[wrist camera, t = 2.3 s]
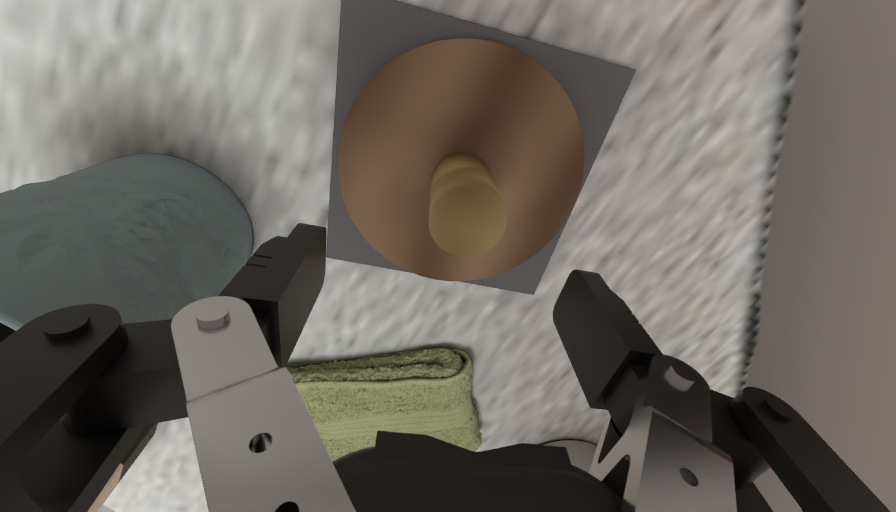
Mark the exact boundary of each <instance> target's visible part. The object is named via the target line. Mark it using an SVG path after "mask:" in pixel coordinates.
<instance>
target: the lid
mask: <svg viewBox="0 0 896 512" xmlns="http://www.w3.org/2000/svg"><path fill="white" fill-rule="evenodd" d="M583 170H584V143H583V136H582V130H581V127H580V123H579V120H578V117H577V114H576V112H575V109H574V107H573V105H572V103H571V101H570V99H569V97H568V96H567V94H566V93H565V91H564V90H563V88H562V87H561V85H560V84H559V83H558V82H557V81H556V79H555V78H554V77H553V76H552V75H551V74H550V73H549V72H548V71H547V70H546V69H545V68H544V67H542V66H541V65H540V64H538V63H537V62H536V61H535V60H533V59H532V58H530V57H528V56H527V55H525V54H523V53H521V52H520V51H518V50H516V49H513V48H511V47H508V46H505V45H503V44H500V43H497V42H492V41H486V40H481V39H467V38H457V39H448V40H440V41H436V42H432V43H429V44H425V45H422V46H419V47H417V48H415V49H412V50H410V51H408V52H406V53H403V54H402V55H400V56H399V57H397V58H396V59H394V60H393V61H391V62H389V63H388V64H387V65H385V66H384V67H383V68H382V69H381V70H380V71H379V72H377V73H376V74H375V75H374V76H373V77H372V78H371V79H370V81H369V82H368V83H367V84H366V85H365V86H364V88H363V89H362V90H361V91H360V93H359V95H358V96H357V98H356V99H355V101H354V103H353V104H352V106H351V108H350V110H349V112H348V115H347V117H346V119H345V122H344V125H343V128H342V132H341V135H340V140H339V147H338V154H337V172H338V179H339V186H340V190H341V194H342V197H343V201H344V204H345V206H346V208H347V211H348V213H349V216H350V217H351V219H352V221H353V222H354V224H355V226H356V228H357V229H358V230H359V232H360V233H361V234H362V236H363V237H364V238H365V240H366V241H367V242H368V243H369V244H370V245H371V246H372V247H373V248H374V249H375V250H376V251H377V252H379V253H380V254H381V255H382V256H384V257H385V258H386V259H388V260H389V261H391V262H392V263H394V264H396V265H397V266H399V267H401V268H403V269H405V270H407V271H409V272H412V273H415V274H418V275H420V276H423V277H428V278H432V279H437V280H445V281H470V280H478V279H483V278H488V277H492V276H495V275H498V274H501V273H504V272H506V271H508V270H511V269H513V268H515V267H517V266H519V265H520V264H522V263H524V262H526V261H527V260H529V259H530V258H531V257H533V256H534V255H535V254H537V253H538V252H539V251H540V250H541V249H543V248H544V247H545V246H546V245H547V244H548V243H549V242H550V241H551V240H552V239H553V237H554V236H555V235H556V234H557V233H558V232H559V230H560V229H561V227H562V226H563V224H564V223H565V222H566V220H567V218H568V216H569V214H570V213H571V211H572V209H573V207H574V204H575V202H576V199H577V196H578V194H579V190H580V186H581V182H582V178H583Z"/></svg>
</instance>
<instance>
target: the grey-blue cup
mask: <svg viewBox="0 0 896 512" xmlns="http://www.w3.org/2000/svg"><path fill="white" fill-rule="evenodd" d="M252 232H253V230H252V224H251V221H250V219H249V216H248V214H247V212H246V210H245V208H244V207H243V205H242V204H241V202H240V201H239V199H238V198H237V197H236V196H235V194H234V193H233V192H232V191H231V190H230V189H229V188H228V187H227V186H226V185H225V184H224V183H223V182H222V181H220V180H219V179H218V178H217V177H215V176H214V175H213V174H211V173H210V172H208V171H206V170H205V169H203V168H201V167H199V166H197V165H195V164H193V163H191V162H188V161H186V160H183V159H180V158H176V157H172V156H167V155H161V154H136V155H130V156H125V157H122V158H118V159H114V160H110V161H106V162H103V163H99V164H97V165H94V166H91V167H88V168H85V169H83V170H80V171H77V172H74V173H71V174H68V175H64V176H61V177H58V178H56V179H54V180H51V181H46V182H39V183H30V184H25V185H22V186H20V187H18V188H16V189H14V190H10V191H6V192H3V193H0V343H1V342H2V341H3V340H5V339H6V338H7V337H9V336H10V335H11V334H13V333H14V332H15V331H17V330H18V329H19V328H21V327H22V326H23V325H25V324H26V323H28V322H29V321H31V320H33V319H35V318H37V317H39V316H41V315H43V314H46V313H48V312H51V311H54V310H57V309H61V308H64V307H69V306H74V305H81V304H101V305H107V306H110V307H113V308H115V309H116V310H117V311H118V312H119V313H120V315H121V318H122V320H123V323H124V324H125V323H136V322H148V321H159V320H168V319H173V318H174V316H175V315H176V314H177V313H178V312H179V311H180V310H181V309H182V308H184V307H186V306H187V305H189V304H191V303H193V302H195V301H198V300H201V299H205V298H209V297H216V296H218V295H219V294H220V293H221V291H222V290H223V289H224V288H225V287H226V286H227V284H228V283H229V282H230V281H231V280H232V279H233V277H234V276H235V275H236V274H237V273H238V272H239V270H240V269H241V268H242V267H243V266H244V265H246V262H247V261H248V259H249V257H250V255H251V250H252V244H253V243H252V239H253V235H252Z"/></svg>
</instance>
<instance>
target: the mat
mask: <svg viewBox="0 0 896 512" xmlns="http://www.w3.org/2000/svg"><path fill="white" fill-rule="evenodd" d="M457 38H467V39H481V40H486V41H492V42H497V43H500V44H503V45H505V46H508V47H511V48H513V49H516V50H518V51H520V52H521V53H523V54H525V55H527V56H528V57H530V58H532V59H533V60H535V61H536V62H537V63H538V64H540V65H541V66H542V67H544V68H545V69H546V70H547V71H548V72H549V73H550V74H551V75H552V76H553V77H554V78H555V79H556V81H557V82H558V83H559V84H560V85H561V87H562V88H563V90H564V91H565V93H566V94H567V96H568V97H569V99H570V101H571V103H572V105H573V107H574V109H575V112H576V114H577V117H578V120H579V123H580V127H581V130H582V136H583V143H584V170H583V178H582V182H581V186H580V190H579V194H580V192H581V190H582V187H583V185H584V183H585V181H586V179H587V176H588V174H589V172H590V170H591V168H592V165H593V163H594V161H595V159H596V157H597V154H598V152H599V150H600V148H601V146H602V143H603V141H604V139H605V137H606V135H607V133H608V130H609V128H610V126H611V124H612V122H613V119H614V117H615V115H616V113H617V111H618V108H619V106H620V104H621V102H622V100H623V97H624V95H625V93H626V91H627V89H628V86H629V84H630V82H631V80H632V78H633V75H634V73H635V71H636V70H634V69H631V68H627V67H624V66H620V65H617V64H613V63H610V62H606V61H603V60H599V59H596V58H593V57H589V56H586V55H582V54H579V53H575V52H572V51H568V50H565V49H561V48H558V47H554V46H551V45H547V44H544V43H540V42H537V41H533V40H530V39H526V38H523V37H519V36H516V35H512V34H509V33H505V32H502V31H498V30H495V29H491V28H488V27H484V26H481V25H477V24H474V23H470V22H467V21H463V20H460V19H456V18H453V17H450V16H446V15H443V14H439V13H436V12H432V11H429V10H425V9H422V8H418V7H415V6H411V5H408V4H404V3H401V2H397V1H394V0H341V14H340V31H339V48H338V65H337V82H336V99H335V116H334V133H333V150H332V167H331V184H330V201H329V218H328V235H327V252H326V257H327V258H333V259H339V260H344V261H350V262H355V263H361V264H366V265H372V266H377V267H383V268H388V269H394V270H399V271H405V272H409V271H407V270H405V269H403V268H401V267H399V266H397V265H396V264H394V263H392V262H391V261H389V260H388V259H386V258H385V257H384V256H382V255H381V254H380V253H379V252H377V251H376V250H375V249H374V248H373V247H372V246H371V245H370V244H369V243H368V242H367V241H366V240H365V238H364V237H363V236H362V234H361V233H360V232H359V230H358V229H357V228H356V226H355V224H354V222H353V221H352V219H351V217H350V216H349V213H348V211H347V208H346V206H345V204H344V201H343V197H342V194H341V190H340V186H339V179H338V172H337V154H338V147H339V140H340V135H341V132H342V128H343V125H344V122H345V119H346V117H347V115H348V112H349V110H350V108H351V106H352V104H353V103H354V101H355V99H356V98H357V96H358V95H359V93H360V91H361V90H362V89H363V88H364V86H365V85H366V84H367V83H368V82H369V81H370V79H371V78H372V77H373V76H374V75H375V74H376V73H377V72H379V71H380V70H381V69H382V68H383V67H384V66H385V65H387V64H388V63H389V62H391V61H393V60H394V59H396V58H397V57H399V56H400V55H402V54H403V53H406V52H408V51H410V50H412V49H415V48H417V47H419V46H422V45H425V44H429V43H432V42H436V41H440V40H448V39H457ZM579 194H578V196H579ZM578 196H577V198H578ZM576 201H577V199H576ZM575 203H576V202H575ZM574 205H575V204H574ZM571 212H572V211H571ZM570 214H571V213H570ZM570 214H569V216H570ZM569 216H568V218H569ZM568 218H567V220H568ZM567 220H566V222H565V223H564V224H563V226H562V227H561V229H560V230H559V232H558V233H557V234H556V235H555V236H554V237H553V239H552V240H551V241H550V242H549V243H548V244H547V245H546V246H545V247H544V248H543V249H541V250H540V251H539V252H538V253H537V254H535V255H534V256H533V257H531V258H530V259H529V260H527V261H526V262H524V263H522V264H520V265H519V266H517V267H515V268H513V269H511V270H508V271H506V272H504V273H501V274H498V275H495V276H492V277H488V278H483V279H478V280H470V281H460V282H466V283H471V284H477V285H482V286H488V287H494V288H499V289H505V290H510V291H516V292H521V293H527V294H532V295H534V293H535V291H536V288H537V286H538V284H539V282H540V280H541V277H542V275H543V273H544V271H545V269H546V266H547V264H548V262H549V260H550V258H551V255H552V253H553V251H554V249H555V247H556V244H557V242H558V240H559V238H560V236H561V234H562V231H563V229H564V227H565V225H566V223H567ZM410 273H412V272H410Z"/></svg>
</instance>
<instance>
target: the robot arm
mask: <svg viewBox="0 0 896 512" xmlns="http://www.w3.org/2000/svg"><path fill="white" fill-rule="evenodd" d="M325 263H326V228H325V227H321V226H315V225H309V224H303V223H299V224H297V226H296V227H295V228H294V230H293V231H292V232H291V234H290V235H289V236H288V237H287V238H286V237H280V236H277V237H275V238H273V239H271V240H269V241H267V242H265V243H263V244H262V245H261V246H260V247H259V248H258V249H257V251H256V252H255V253H254V254H253V256H251V258H250V259H249V260H248V261H247V262H246V265H244V266H243V267H242V268H241V269H240V270H239V272H238V273H237V274H236V275H235V276H234V277H233V279H232V280H231V281H230V282H229V283H228V284H227V286H226V287H225V288H224V289H223V290H222V291H221V293H220V294H219V295H218V296H216V297H209V298H205V299H201V300H198V301H195V302H193V303H191V304H189V305H187V306H186V307H184V308H182V309H181V310H180V311H179V312H178V313H177V314H176V315H175V316H174V318H173V319H168V320H159V321H148V322H136V323H125V324H124V323H123V320H122V318H121V315H120V313H119V312H118V311H117V310H116V309H115V308H113V307H110V306H107V305H101V304H81V305H74V306H69V307H64V308H61V309H57V310H54V311H51V312H48V313H46V314H43V315H41V316H39V317H37V318H35V319H33V320H31V321H29V322H28V323H26V324H25V325H23V326H22V327H21V328H19V329H18V330H17V331H15V332H14V333H13V334H11V335H10V336H9V337H7V338H6V339H5V340H3V341H2V342H1V343H0V512H88V510H89V509H90V507H91V506H92V504H93V503H94V501H95V500H96V498H97V497H98V495H99V494H100V493H101V491H102V490H103V488H104V487H105V485H106V484H107V482H108V481H109V479H110V478H111V476H112V475H113V473H114V472H115V470H116V469H117V467H118V466H119V465H120V463H121V462H122V460H123V459H124V457H125V456H126V454H127V453H128V451H129V450H130V448H131V447H132V445H133V444H134V442H135V441H136V440H137V438H138V437H139V435H140V434H141V432H142V431H143V429H144V428H145V426H146V425H148V424H154V423H159V422H164V421H170V420H175V419H180V418H186V417H189V421H190V426H191V431H192V435H193V440H194V445H195V449H196V454H197V459H198V463H199V468H200V473H201V477H202V482H203V487H204V491H205V496H206V501H207V505H208V510H209V512H773V511H772V509H771V508H770V507H769V505H768V503H767V502H766V500H765V499H764V498H763V496H762V495H761V493H760V492H759V490H758V489H757V487H756V486H755V484H754V483H753V481H754V480H755V479H756V478H758V477H759V476H760V475H762V474H763V473H764V472H766V471H767V470H768V469H770V468H772V469H773V471H774V472H775V473H776V475H777V476H778V477H779V479H780V480H781V482H783V484H784V486H785V487H786V488H787V490H788V491H789V492H790V494H791V495H792V496H793V498H794V499H795V500H796V502H797V503H798V504H799V506H800V507H801V508H802V511H803V512H890V511H889V510H888V509H887V507H886V506H885V505H884V504H883V503H882V502H881V501H880V500H879V499H878V498H877V497H876V496H875V495H874V494H873V492H872V491H871V490H870V489H869V488H868V487H867V486H866V485H865V484H864V483H863V482H862V481H861V480H860V479H859V477H858V476H857V475H856V474H855V473H854V472H853V471H852V470H851V469H850V468H849V467H848V466H847V465H846V464H845V462H844V461H843V460H842V459H841V458H840V457H839V456H838V455H837V454H836V453H835V452H834V451H833V450H832V449H831V448H830V446H828V444H827V443H826V442H825V441H824V440H823V439H822V438H821V437H820V436H819V435H818V434H817V432H816V431H815V430H814V429H813V428H812V427H811V426H810V425H809V424H808V423H807V422H806V421H805V420H804V419H803V418H802V416H801V415H800V414H799V413H797V411H796V410H794V409H793V408H792V407H791V406H790V405H788V404H787V403H785V402H784V401H783V400H781V399H780V398H778V397H776V396H775V395H773V394H771V393H769V392H767V391H765V390H762V389H759V388H755V387H746V388H744V389H743V390H742V391H741V392H740V393H739V394H738V395H737V396H736V397H735V398H732V397H729V396H727V395H724V394H721V393H719V392H716V391H713V390H711V389H710V387H709V385H708V384H707V382H706V381H705V379H704V378H703V377H702V376H701V375H700V374H699V373H698V372H697V371H696V370H695V369H693V368H692V367H691V366H689V365H688V364H686V363H685V362H683V361H681V360H679V359H677V358H674V357H671V356H668V355H663V354H662V353H661V351H660V350H659V349H658V347H657V346H656V344H655V343H654V342H653V340H652V339H651V338H650V336H649V335H648V334H647V332H646V331H645V329H644V328H643V327H642V325H641V324H639V321H638V320H637V319H636V317H635V316H634V314H632V312H631V310H630V309H629V308H628V306H627V305H626V304H625V302H624V301H623V300H622V299H621V298H620V297H618V296H617V295H616V294H615V293H614V292H612V291H611V290H610V289H609V287H608V286H607V284H606V283H605V282H604V280H603V279H602V277H601V276H600V275H599V274H598V273H594V272H588V271H582V270H573V271H572V272H571V273H570V275H569V277H568V279H567V281H566V283H565V285H564V287H563V289H562V291H561V293H560V295H559V297H558V299H557V302H556V304H555V306H554V310H553V321H554V324H555V326H556V329H557V331H558V333H559V336H560V338H561V340H562V343H563V345H564V347H565V350H566V352H567V354H568V357H569V359H570V361H571V364H572V366H573V369H574V371H575V373H576V376H577V378H578V380H579V383H580V385H581V387H582V390H583V392H584V394H585V397H586V399H587V401H588V404H589V406H590V408H596V409H605V410H608V411H609V413H610V415H609V417H608V418H607V419H606V421H605V423H604V426H603V429H602V432H601V436H600V439H599V442H598V445H597V446H595V445H593V444H590V443H587V442H583V441H576V440H564V441H556V442H551V443H547V444H544V445H535V444H524V443H521V444H517V445H512V446H507V447H502V448H497V449H492V450H487V451H482V452H474V451H471V450H468V449H465V448H462V447H459V446H457V445H454V444H451V443H448V442H445V441H442V440H440V439H437V438H434V437H431V436H428V435H423V434H411V433H400V432H389V431H377V436H376V441H375V446H373V447H368V448H363V449H360V450H357V451H354V452H351V453H349V454H347V455H344V456H342V457H340V458H338V459H336V460H335V461H333V462H332V461H331V458H330V456H329V454H328V452H327V450H326V448H325V446H324V444H323V442H322V440H321V438H320V435H319V433H318V431H317V429H316V427H315V425H314V423H313V421H312V419H311V417H310V415H309V413H308V410H307V408H306V406H305V404H304V402H303V400H302V398H301V396H300V394H299V392H298V390H297V387H296V385H295V383H294V381H293V379H292V377H291V375H290V373H289V371H288V370H287V368H286V365H287V362H288V360H289V358H290V356H291V354H292V351H293V349H294V347H295V345H296V343H297V341H298V338H299V336H300V334H301V332H302V330H303V328H304V325H305V323H306V321H307V319H308V317H309V315H310V312H311V310H312V308H313V306H314V304H315V302H316V299H317V297H318V295H319V293H320V291H321V288H322V285H323V281H324V276H325Z"/></svg>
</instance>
